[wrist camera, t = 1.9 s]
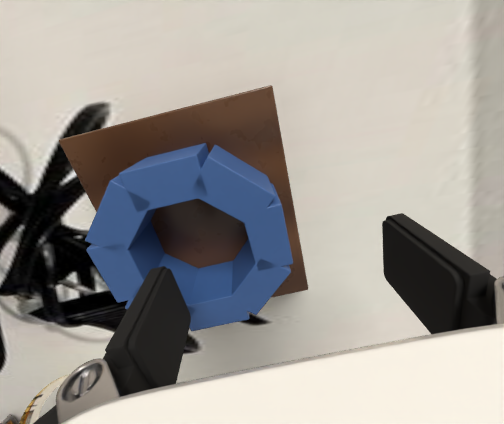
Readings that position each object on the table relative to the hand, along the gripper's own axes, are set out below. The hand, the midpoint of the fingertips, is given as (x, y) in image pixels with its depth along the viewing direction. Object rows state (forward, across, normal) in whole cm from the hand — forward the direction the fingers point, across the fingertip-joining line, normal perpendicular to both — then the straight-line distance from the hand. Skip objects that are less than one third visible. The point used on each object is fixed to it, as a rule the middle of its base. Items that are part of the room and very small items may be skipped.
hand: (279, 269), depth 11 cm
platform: (+9, +4, 0) cm, 10 cm away
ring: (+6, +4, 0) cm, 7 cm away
